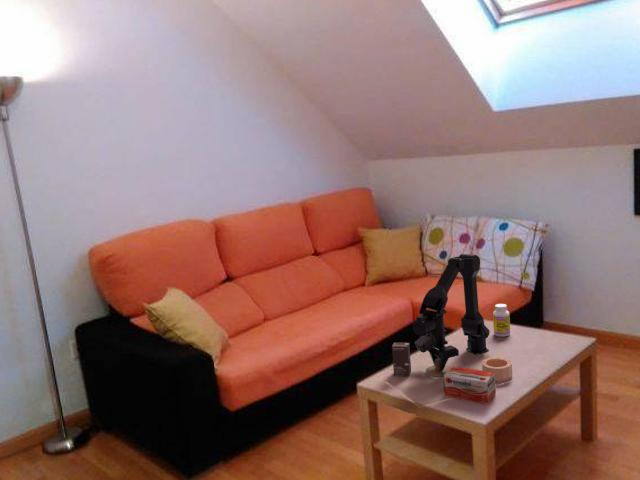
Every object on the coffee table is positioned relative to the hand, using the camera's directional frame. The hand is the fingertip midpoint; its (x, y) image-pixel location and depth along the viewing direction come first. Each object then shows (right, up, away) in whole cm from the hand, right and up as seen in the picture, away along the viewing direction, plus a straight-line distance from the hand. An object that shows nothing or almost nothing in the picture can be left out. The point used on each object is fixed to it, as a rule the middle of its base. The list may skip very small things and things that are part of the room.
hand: (439, 368), depth 217 cm
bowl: (+19, -1, -8) cm, 21 cm away
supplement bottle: (+33, +7, +33) cm, 47 cm away
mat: (0, -2, 0) cm, 2 cm away
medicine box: (+6, -5, -20) cm, 22 cm away
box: (-13, -3, +2) cm, 14 cm away
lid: (0, -1, 0) cm, 1 cm away
